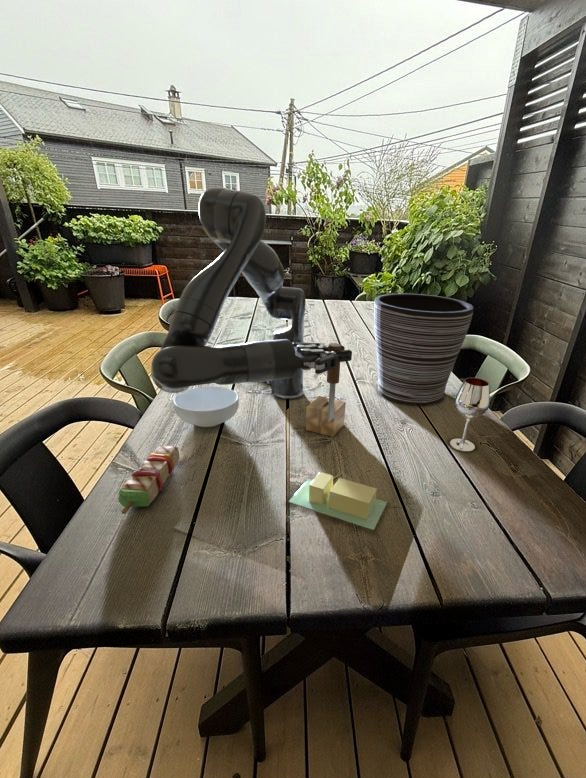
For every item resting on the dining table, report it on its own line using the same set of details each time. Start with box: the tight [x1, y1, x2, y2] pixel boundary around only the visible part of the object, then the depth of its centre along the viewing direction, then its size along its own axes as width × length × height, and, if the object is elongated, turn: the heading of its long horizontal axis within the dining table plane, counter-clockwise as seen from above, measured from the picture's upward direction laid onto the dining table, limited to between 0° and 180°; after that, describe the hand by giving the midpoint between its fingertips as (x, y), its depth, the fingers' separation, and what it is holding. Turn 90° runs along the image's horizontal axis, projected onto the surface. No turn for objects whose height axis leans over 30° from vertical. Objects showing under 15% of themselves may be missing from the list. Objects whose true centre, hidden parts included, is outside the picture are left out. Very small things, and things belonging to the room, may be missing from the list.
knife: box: [326, 342, 342, 422], centre depth 84 cm, size 3×3×17 cm
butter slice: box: [309, 471, 334, 505], centre depth 81 cm, size 3×5×4 cm, turn 157°
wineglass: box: [449, 377, 491, 453], centre depth 101 cm, size 8×8×18 cm
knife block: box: [305, 395, 347, 438], centre depth 108 cm, size 8×8×7 cm
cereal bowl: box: [172, 386, 240, 428], centre depth 108 cm, size 17×17×7 cm
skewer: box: [118, 444, 180, 515], centre depth 81 cm, size 21×6×5 cm, turn 178°
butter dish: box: [288, 477, 388, 531], centre depth 79 cm, size 18×9×5 cm, turn 67°
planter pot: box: [373, 293, 475, 406], centre depth 129 cm, size 30×30×30 cm
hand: (346, 352), depth 82 cm, fingers closed on knife, 2 cm apart
